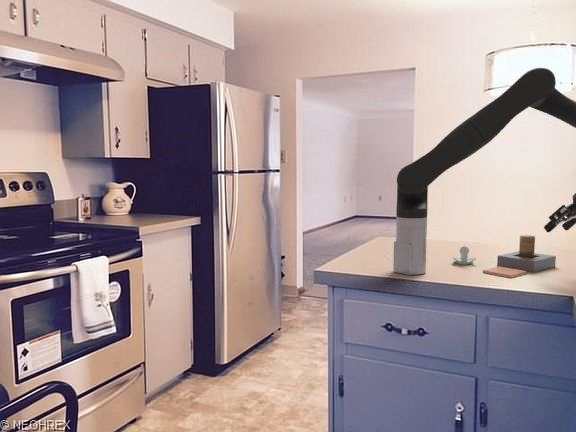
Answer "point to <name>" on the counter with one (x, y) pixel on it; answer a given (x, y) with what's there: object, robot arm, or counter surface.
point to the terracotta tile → (505, 272)
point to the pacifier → (464, 257)
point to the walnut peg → (527, 246)
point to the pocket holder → (526, 262)
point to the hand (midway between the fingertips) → (555, 229)
